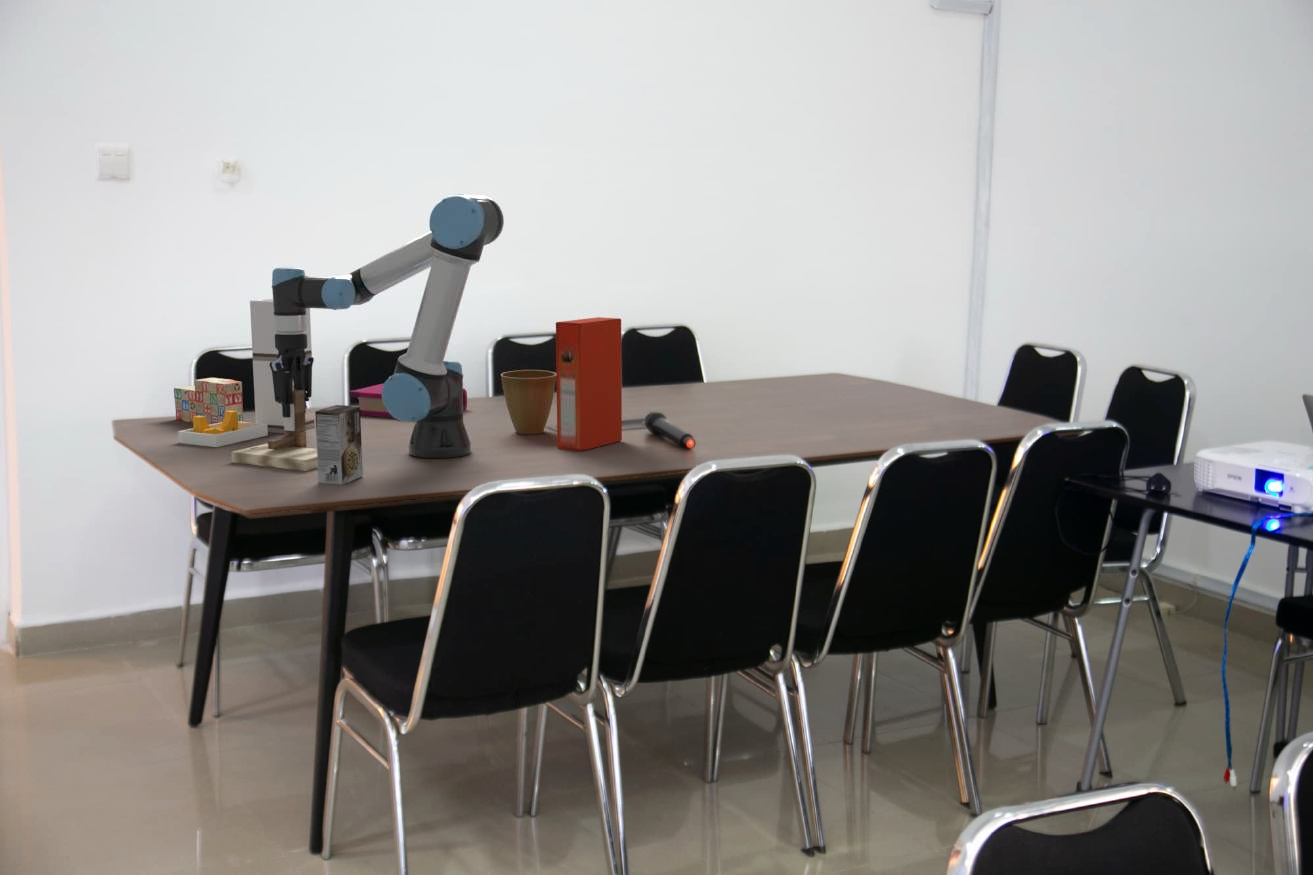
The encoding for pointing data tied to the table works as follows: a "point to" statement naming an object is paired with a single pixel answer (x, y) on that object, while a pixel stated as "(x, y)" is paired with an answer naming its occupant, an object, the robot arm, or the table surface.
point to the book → (379, 401)
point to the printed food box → (339, 444)
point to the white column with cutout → (262, 356)
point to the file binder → (588, 383)
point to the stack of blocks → (209, 400)
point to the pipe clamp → (226, 426)
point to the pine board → (278, 457)
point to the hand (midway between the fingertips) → (294, 429)
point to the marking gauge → (299, 435)
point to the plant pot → (529, 398)
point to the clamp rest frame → (223, 435)
